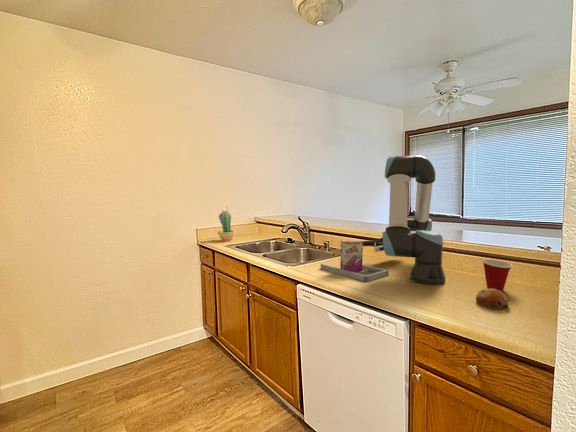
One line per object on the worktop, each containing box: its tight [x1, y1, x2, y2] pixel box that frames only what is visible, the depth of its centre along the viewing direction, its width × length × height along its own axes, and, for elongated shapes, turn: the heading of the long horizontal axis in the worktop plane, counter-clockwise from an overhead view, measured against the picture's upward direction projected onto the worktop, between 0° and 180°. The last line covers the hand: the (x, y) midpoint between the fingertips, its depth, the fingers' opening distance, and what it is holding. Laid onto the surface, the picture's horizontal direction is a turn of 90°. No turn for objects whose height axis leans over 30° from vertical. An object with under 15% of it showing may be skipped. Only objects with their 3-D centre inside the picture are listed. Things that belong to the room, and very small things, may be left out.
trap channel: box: [320, 263, 390, 283], centre depth 162 cm, size 31×18×2 cm, turn 38°
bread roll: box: [475, 288, 510, 311], centre depth 116 cm, size 10×10×8 cm
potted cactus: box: [217, 210, 237, 243], centre depth 258 cm, size 15×15×25 cm
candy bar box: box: [339, 239, 364, 273], centre depth 162 cm, size 11×5×16 cm, turn 84°
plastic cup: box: [482, 258, 513, 292], centre depth 133 cm, size 11×11×12 cm
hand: (364, 247), depth 169 cm, fingers open, 13 cm apart
